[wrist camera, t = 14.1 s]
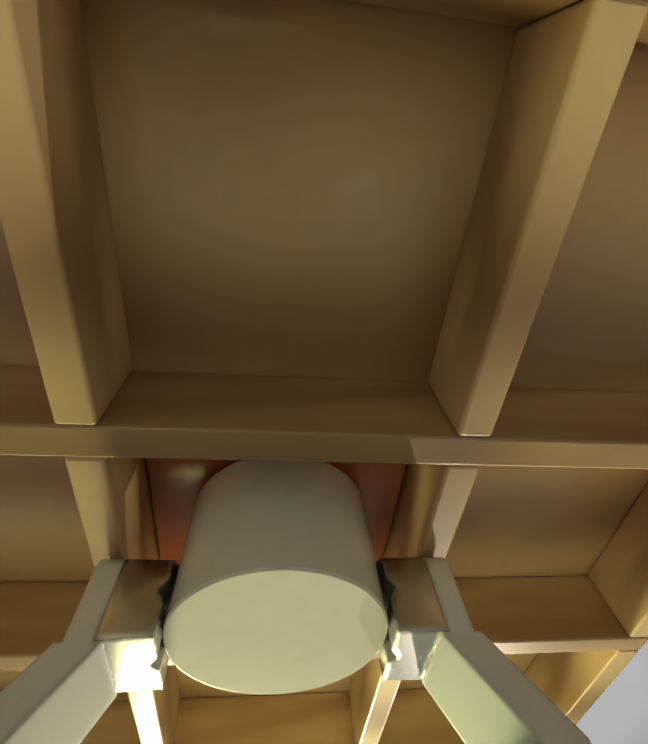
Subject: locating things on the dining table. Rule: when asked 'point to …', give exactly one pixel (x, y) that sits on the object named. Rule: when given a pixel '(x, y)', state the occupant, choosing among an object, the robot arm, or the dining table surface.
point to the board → (330, 317)
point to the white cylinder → (276, 581)
